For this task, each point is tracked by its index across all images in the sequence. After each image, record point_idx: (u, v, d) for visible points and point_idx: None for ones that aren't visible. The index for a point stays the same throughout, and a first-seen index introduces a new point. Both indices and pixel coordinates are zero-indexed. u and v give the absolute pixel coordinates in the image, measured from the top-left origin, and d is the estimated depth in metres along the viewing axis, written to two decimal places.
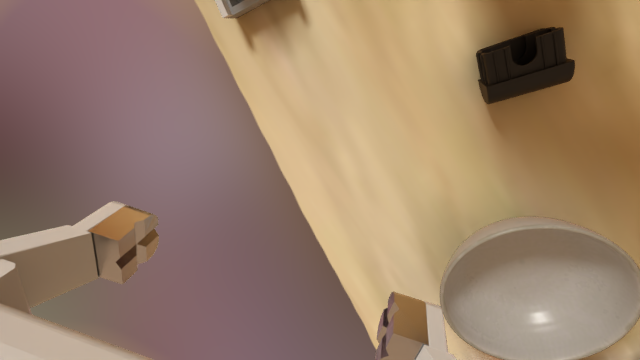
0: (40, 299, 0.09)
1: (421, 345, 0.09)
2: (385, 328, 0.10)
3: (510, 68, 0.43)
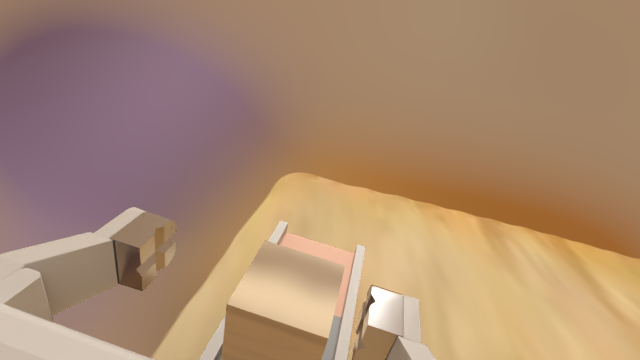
0: (61, 307, 0.09)
1: (395, 336, 0.09)
2: (363, 321, 0.10)
3: None
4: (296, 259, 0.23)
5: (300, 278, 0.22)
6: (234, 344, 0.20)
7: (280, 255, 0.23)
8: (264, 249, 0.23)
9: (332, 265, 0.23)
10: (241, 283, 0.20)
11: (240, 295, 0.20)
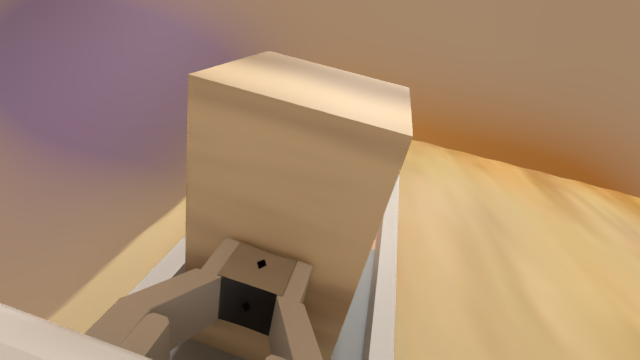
0: (171, 347, 0.09)
1: (275, 296, 0.09)
2: None
3: None
4: (325, 70, 0.13)
5: (336, 82, 0.11)
6: (208, 189, 0.10)
7: (296, 63, 0.13)
8: (267, 55, 0.13)
9: (388, 84, 0.13)
10: (223, 66, 0.10)
11: (219, 73, 0.09)
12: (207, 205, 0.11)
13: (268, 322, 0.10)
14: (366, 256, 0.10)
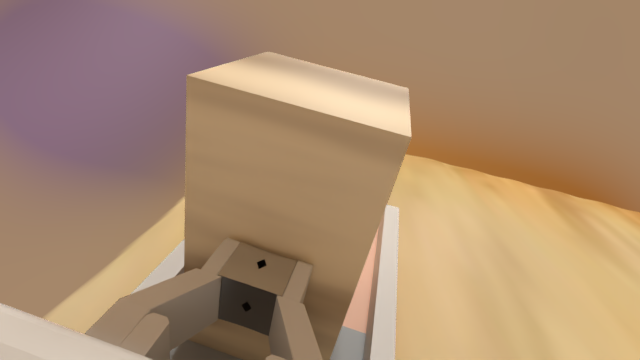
0: (171, 347, 0.09)
1: (275, 296, 0.09)
2: None
3: None
4: (324, 70, 0.13)
5: (335, 83, 0.11)
6: (206, 190, 0.10)
7: (295, 63, 0.13)
8: (266, 55, 0.13)
9: (387, 84, 0.13)
10: (221, 67, 0.10)
11: (218, 74, 0.09)
12: (206, 206, 0.11)
13: (268, 322, 0.10)
14: (365, 257, 0.10)
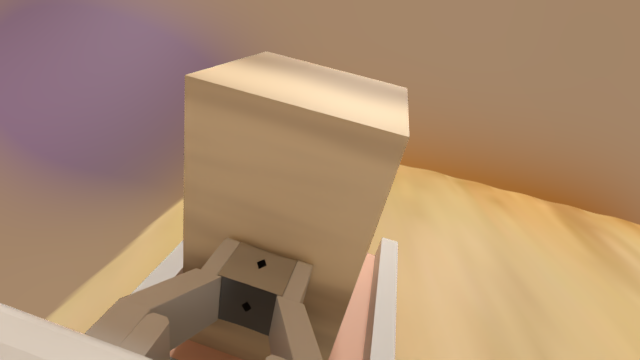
0: (171, 347, 0.09)
1: (275, 296, 0.09)
2: None
3: None
4: (322, 70, 0.13)
5: (333, 83, 0.11)
6: (205, 189, 0.10)
7: (294, 63, 0.13)
8: (265, 55, 0.13)
9: (385, 84, 0.13)
10: (220, 67, 0.10)
11: (216, 74, 0.09)
12: (205, 206, 0.11)
13: (268, 322, 0.10)
14: (363, 256, 0.10)
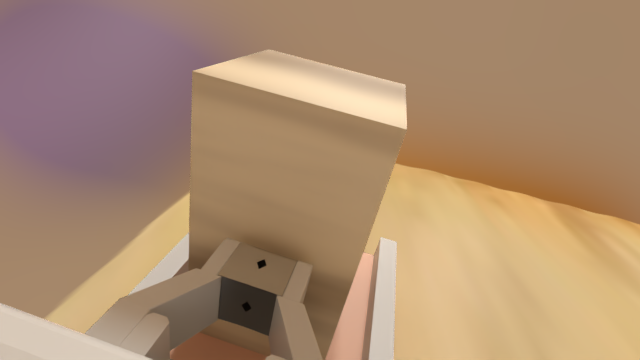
0: (171, 347, 0.09)
1: (276, 296, 0.09)
2: None
3: None
4: (323, 68, 0.13)
5: (334, 79, 0.12)
6: (211, 181, 0.11)
7: (295, 61, 0.13)
8: (268, 53, 0.14)
9: (384, 81, 0.14)
10: (225, 63, 0.11)
11: (222, 70, 0.10)
12: (210, 197, 0.11)
13: (268, 322, 0.10)
14: (363, 246, 0.11)
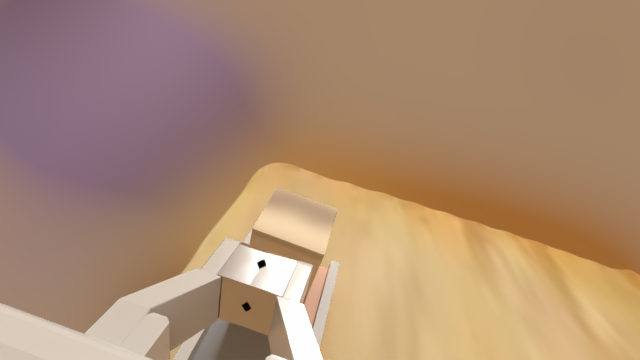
0: (171, 347, 0.09)
1: (276, 296, 0.09)
2: None
3: None
4: (301, 202, 0.30)
5: (304, 215, 0.29)
6: None
7: (289, 198, 0.30)
8: (277, 193, 0.31)
9: (328, 208, 0.31)
10: (261, 215, 0.28)
11: (261, 223, 0.27)
12: None
13: (268, 322, 0.10)
14: (311, 284, 0.28)
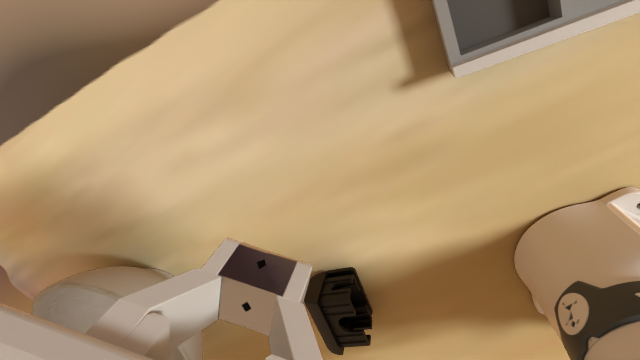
0: (171, 347, 0.09)
1: (276, 296, 0.09)
2: None
3: (335, 316, 0.44)
4: None
5: None
6: None
7: None
8: None
9: None
10: None
11: None
12: None
13: (268, 322, 0.10)
14: None
